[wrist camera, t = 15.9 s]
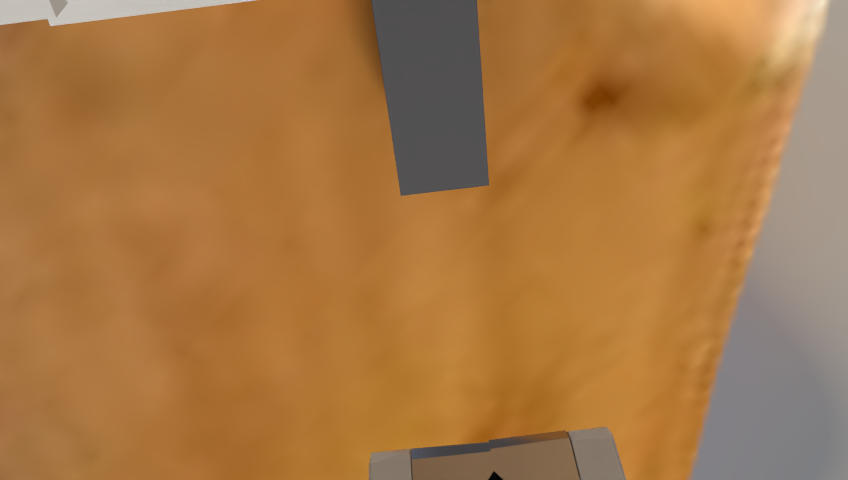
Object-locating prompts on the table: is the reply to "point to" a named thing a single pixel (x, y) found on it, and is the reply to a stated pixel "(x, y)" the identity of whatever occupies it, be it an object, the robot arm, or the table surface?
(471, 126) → the long dark grey plank
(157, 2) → the grey and blue pillars
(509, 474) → the robot arm
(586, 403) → the table surface
